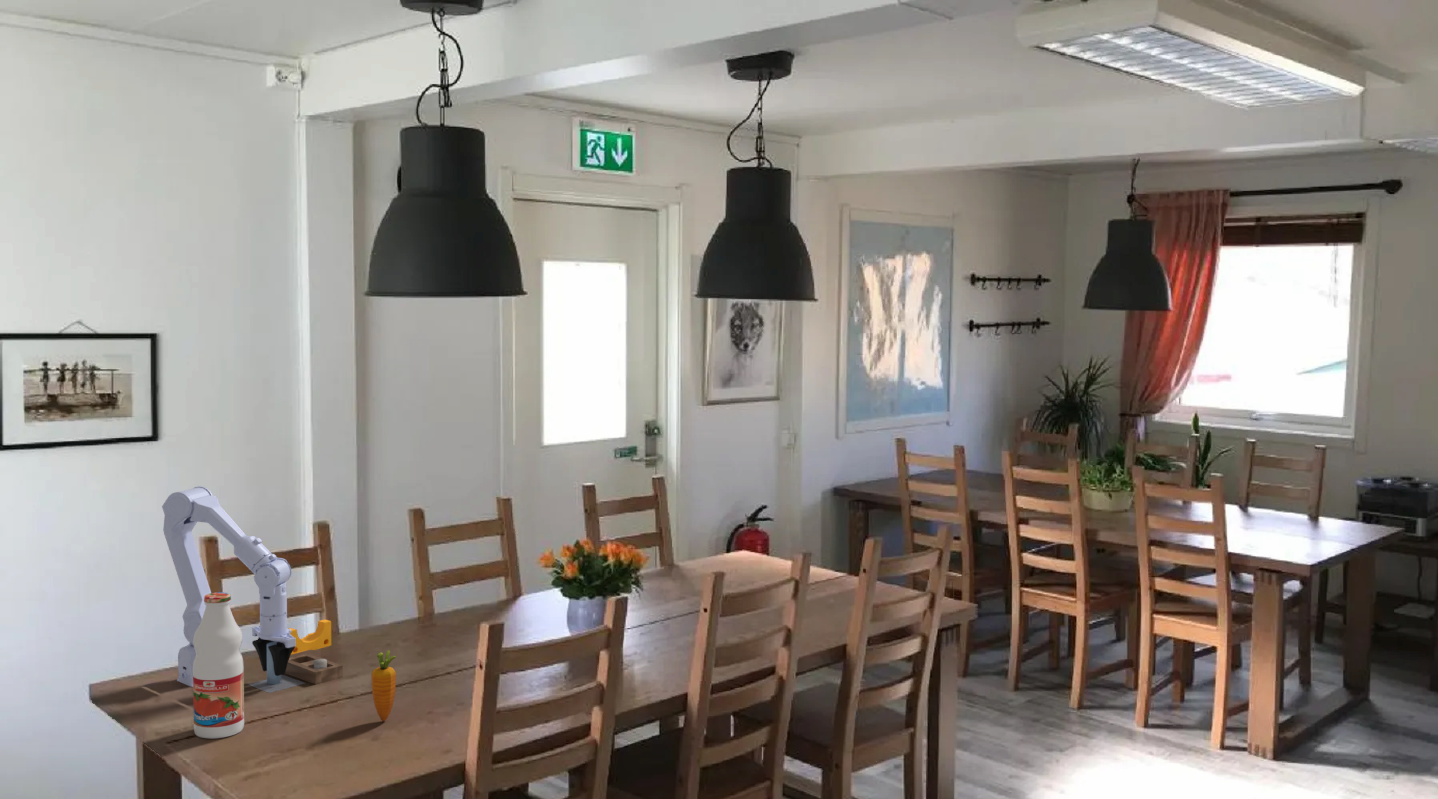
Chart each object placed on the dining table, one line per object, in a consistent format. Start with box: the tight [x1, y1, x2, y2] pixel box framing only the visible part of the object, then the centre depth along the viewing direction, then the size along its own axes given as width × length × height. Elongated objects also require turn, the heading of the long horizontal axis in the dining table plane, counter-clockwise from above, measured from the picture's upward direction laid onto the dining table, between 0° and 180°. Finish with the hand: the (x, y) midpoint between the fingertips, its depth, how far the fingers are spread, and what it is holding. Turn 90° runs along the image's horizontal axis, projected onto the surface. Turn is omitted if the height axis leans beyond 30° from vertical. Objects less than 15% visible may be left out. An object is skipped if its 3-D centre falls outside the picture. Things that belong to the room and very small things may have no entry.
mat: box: [247, 674, 306, 694], centre depth 265 cm, size 9×9×1 cm
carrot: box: [371, 650, 397, 723], centre depth 244 cm, size 5×5×15 cm
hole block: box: [285, 653, 344, 686], centre depth 272 cm, size 7×14×4 cm, turn 52°
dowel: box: [266, 642, 281, 685], centre depth 266 cm, size 3×3×9 cm
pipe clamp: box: [287, 619, 332, 656], centre depth 293 cm, size 12×4×6 cm, turn 146°
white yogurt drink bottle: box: [192, 591, 245, 740], centre depth 236 cm, size 9×9×28 cm
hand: (273, 672), depth 266 cm, fingers open, 4 cm apart
